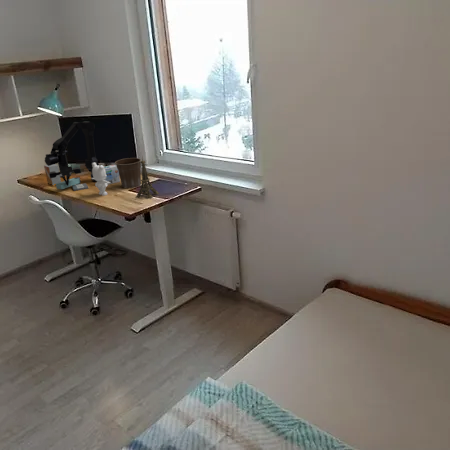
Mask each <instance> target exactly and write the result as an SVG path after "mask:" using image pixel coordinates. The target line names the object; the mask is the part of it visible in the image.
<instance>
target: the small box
mask: <svg viewBox="0 0 450 450" xmlns="http://www.w3.org/2000/svg"><path fill="white" fill-rule="evenodd" d="M43 167H44V173H45V177H46V182H47V184H48V183H49V184H52V185H54V184H57V183H60V182H62V180H61V178H60V176H59V175H57V176H56V177H55V178H50V176H49V172H53V171H55V172H60V170H59V166H58V164H53V165H50V166H48V165H47V164H45V165H43ZM49 184H48V185H49ZM52 185H51V186H52Z"/></svg>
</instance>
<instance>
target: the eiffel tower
mask: <svg viewBox="0 0 450 450" xmlns="http://www.w3.org/2000/svg"><path fill="white" fill-rule="evenodd" d="M145 163H146V160H144V158H143V156H142V158H141V185H140V186H139V187H140V189H139V190H138V192H137V193H136V196H135V197H134V198H135V199H137V198H138V199H140V198H141V197H142V194H145V195H146V196H147V197H146V199H152V198H154V196H153V195H159V194H160V192H158V190H156V188H155V187H153V185H152V184H151V182H150V178H149V176H148V171H147V168H146V164H145ZM150 191H151V192H152V193H151V192H150ZM152 194H153V195H152Z"/></svg>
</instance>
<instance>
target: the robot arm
mask: <svg viewBox="0 0 450 450" xmlns="http://www.w3.org/2000/svg"><path fill="white" fill-rule="evenodd" d="M79 129H81V132H82V134H84V137H85V139H84V140H85V147H86V155H87V158H86V159H85V160H84V164H85V165H84V166H85V168H86V169H87V170H88V171H89V173H90V180H91V182H93V183H96V182H97V181H96V180H94V179H91V178H94V177H93V174H92V169H93V167H92V163H94V162H95V163H96V164H97V165H99V166H100V164H99V161H98V159H97V156H96V152H95V143H94V132H95V129H96V128H95V123H94V122H93V121H89V120H88V121H86V120H85V121H82V122H78V121H74V122H73V123H72V124H71V125H70V127H69V128H68V129H67V130H66V131H65V133H64V134H63V135H62V136H60V138H57V140H55V141H54V142H53V143H52V147H51V151H50V153H47V154H45V157H44V163H45V165H48V166H50V165H53V164H55V165H58V170H59V172H55V171H53V172H49V176H50V178H55V177H56V176H57V175H59V176H60V179H61V178H62V180H63V181H65V183H66V184H67V186H68V183H69V179H71V177H72V176H73V175H72V173H73V174H74V173H75V175H78V174H81V173H82V171H81V169H80V167H78V166H77V167H73V166H69V163H68V157H67V154H69V151H68V150H66V149H67V147H68V145H69V142H70V141H71V139H72V138H73V137H74V136H75V134H76V133H77V132H78V131H79ZM66 180H67V181H66Z"/></svg>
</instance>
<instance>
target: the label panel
mask: <svg viewBox="0 0 450 450" xmlns="http://www.w3.org/2000/svg"><path fill="white" fill-rule="evenodd" d="M71 188H72V190H73V191H74V192H76V190H77V191H81V190H88V189H89V188H90V187H89V186H88V183H86V182H85V183H80V184H78V185H73V186H71Z"/></svg>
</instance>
